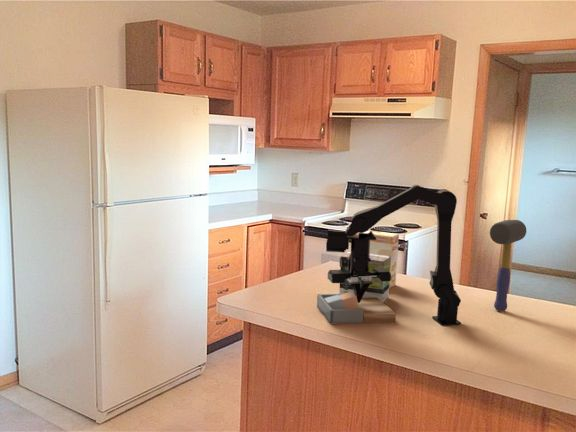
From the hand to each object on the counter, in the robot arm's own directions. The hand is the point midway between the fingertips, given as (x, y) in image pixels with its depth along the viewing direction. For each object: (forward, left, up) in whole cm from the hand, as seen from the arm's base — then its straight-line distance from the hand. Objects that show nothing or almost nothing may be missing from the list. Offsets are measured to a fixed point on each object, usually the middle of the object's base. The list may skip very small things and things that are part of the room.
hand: (358, 302), depth 165 cm
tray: (0, +6, -4) cm, 7 cm away
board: (0, -4, -4) cm, 6 cm away
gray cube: (0, +7, -3) cm, 8 cm away
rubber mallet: (-1, -48, -4) cm, 48 cm away
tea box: (+16, -8, -4) cm, 18 cm away
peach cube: (0, +3, -2) cm, 3 cm away
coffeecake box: (+33, -17, -4) cm, 37 cm away
